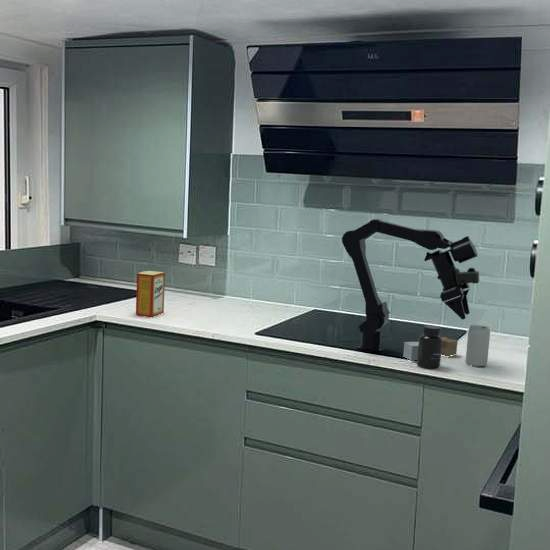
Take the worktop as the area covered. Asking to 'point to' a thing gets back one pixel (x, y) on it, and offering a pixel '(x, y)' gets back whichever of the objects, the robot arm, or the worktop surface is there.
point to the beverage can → (477, 345)
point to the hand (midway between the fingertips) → (466, 316)
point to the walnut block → (448, 346)
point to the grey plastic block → (411, 350)
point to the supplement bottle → (429, 348)
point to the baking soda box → (150, 293)
